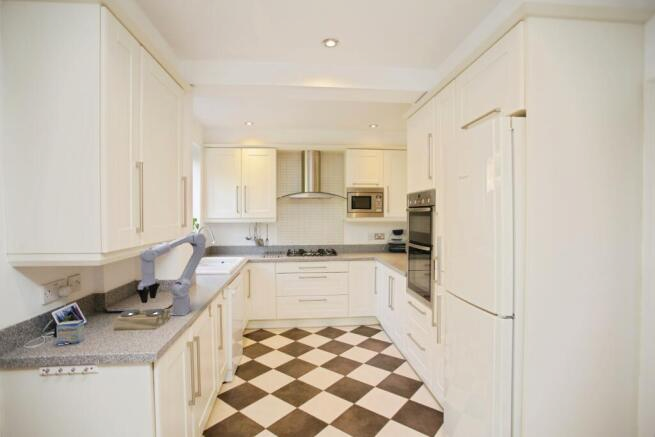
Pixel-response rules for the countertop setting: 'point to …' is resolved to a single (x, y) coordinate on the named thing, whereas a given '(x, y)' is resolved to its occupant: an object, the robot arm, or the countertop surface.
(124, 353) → the countertop surface
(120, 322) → the block
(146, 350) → the countertop surface
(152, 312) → the peg
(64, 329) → the medicine box
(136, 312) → the peg
